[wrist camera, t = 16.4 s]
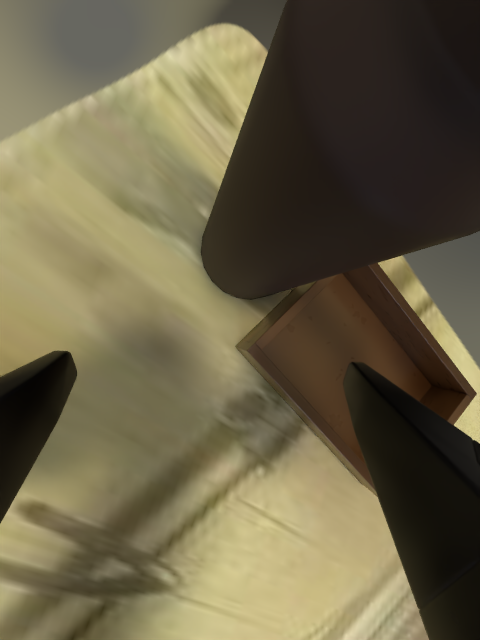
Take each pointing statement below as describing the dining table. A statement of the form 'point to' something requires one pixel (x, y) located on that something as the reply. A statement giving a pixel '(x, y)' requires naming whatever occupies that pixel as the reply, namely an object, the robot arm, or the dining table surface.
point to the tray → (351, 355)
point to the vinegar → (351, 144)
